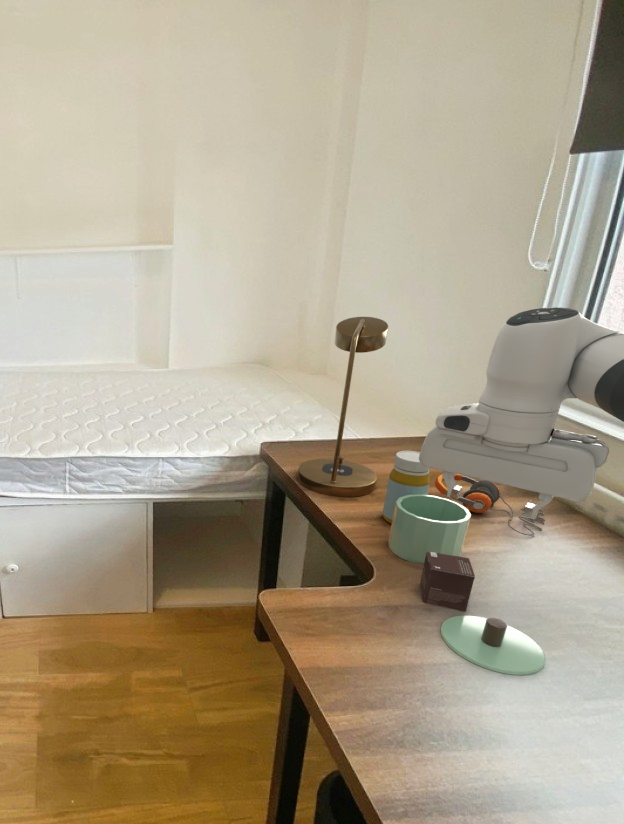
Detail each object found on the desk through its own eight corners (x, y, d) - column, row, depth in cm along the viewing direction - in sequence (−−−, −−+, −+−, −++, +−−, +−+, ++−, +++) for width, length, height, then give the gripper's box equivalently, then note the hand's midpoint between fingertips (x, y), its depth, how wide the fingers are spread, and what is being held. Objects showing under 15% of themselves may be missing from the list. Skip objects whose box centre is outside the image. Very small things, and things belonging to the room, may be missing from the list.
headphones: (543, 529, 107) (430, 479, 119) (528, 550, 109) (418, 499, 122) (561, 500, 116) (454, 457, 129) (547, 520, 119) (443, 476, 132)
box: (465, 614, 90) (476, 577, 88) (421, 605, 93) (429, 568, 91) (460, 593, 95) (469, 557, 93) (418, 585, 98) (426, 550, 95)
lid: (526, 631, 86) (534, 606, 84) (557, 687, 76) (567, 661, 74) (432, 614, 91) (438, 591, 89) (449, 665, 81) (456, 640, 79)
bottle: (413, 532, 114) (428, 466, 108) (376, 520, 119) (388, 457, 113) (425, 520, 118) (440, 455, 112) (388, 509, 123) (401, 447, 117)
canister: (451, 540, 110) (462, 498, 107) (466, 572, 101) (478, 527, 97) (384, 532, 115) (392, 491, 111) (392, 561, 105) (401, 517, 102)
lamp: (380, 460, 147) (406, 315, 133) (372, 502, 126) (402, 337, 112) (309, 450, 156) (326, 314, 142) (291, 488, 135) (309, 334, 121)
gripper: (617, 432, 75) (585, 521, 80) (438, 404, 90) (421, 481, 95) (610, 445, 71) (577, 538, 76) (424, 414, 86) (408, 493, 91)
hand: (489, 506), depth 86 cm, fingers open, 8 cm apart
